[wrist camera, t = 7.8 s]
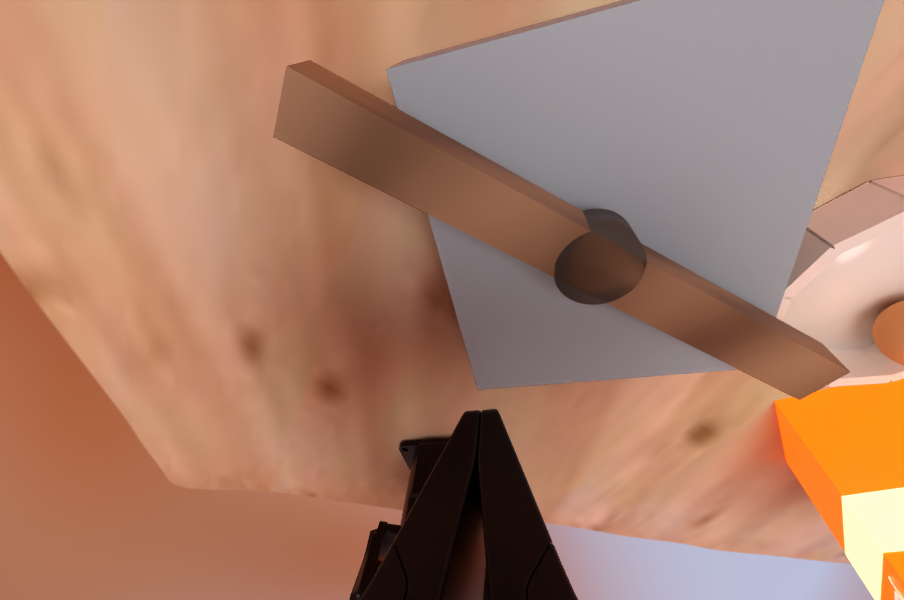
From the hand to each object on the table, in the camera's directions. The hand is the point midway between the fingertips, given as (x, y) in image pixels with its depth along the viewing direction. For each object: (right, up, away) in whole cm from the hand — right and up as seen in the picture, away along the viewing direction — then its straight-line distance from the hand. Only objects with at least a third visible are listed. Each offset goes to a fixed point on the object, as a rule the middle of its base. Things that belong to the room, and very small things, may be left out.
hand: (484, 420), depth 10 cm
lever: (+4, +5, +5) cm, 8 cm away
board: (+6, +7, +8) cm, 12 cm away
